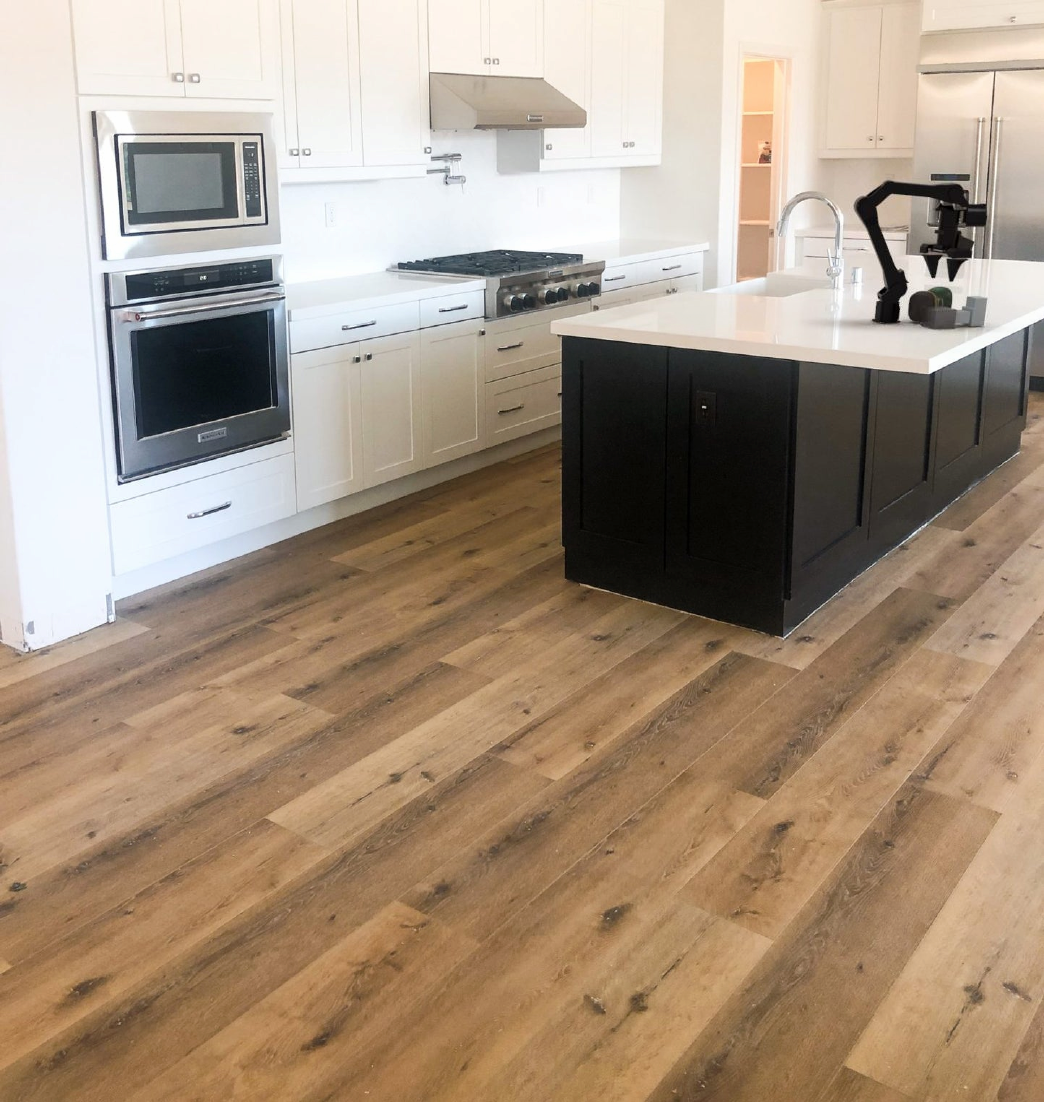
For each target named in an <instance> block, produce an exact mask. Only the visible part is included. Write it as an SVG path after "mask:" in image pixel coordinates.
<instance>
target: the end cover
mask: <svg viewBox="0 0 1044 1102" xmlns="http://www.w3.org/2000/svg"><path fill="white" fill-rule="evenodd" d="M987 305H988V297H984V296H981V295H972V296H969V295H968V296H966V300H965V306H964V305H963V306H961V309H957V313H956V321H955V325H957V324H960V325H964V326H968V327H976V326H977V327H978V326H979V327H980V326H985V321H986V312H987Z"/></svg>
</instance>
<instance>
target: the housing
mask: <svg viewBox="0 0 1044 1102" xmlns="http://www.w3.org/2000/svg"><path fill="white" fill-rule="evenodd" d="M957 310H958V309H956V308H953V307H951V308H948V307H944V306H940V307H923V309H922V318H921V322H920V327H923V328H928V329H931V330H948V329H949V330H952V329H954V330H955V328H956V327H955V326H956V324H955V321H956V313H957Z"/></svg>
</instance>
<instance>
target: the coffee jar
mask: <svg viewBox="0 0 1044 1102" xmlns="http://www.w3.org/2000/svg"><path fill="white" fill-rule="evenodd" d="M940 306H944V307H948V308H953V307H952V306H953V291H952V290H951V289H950V288H949V287H946V286H935V287H932V288H929V289H928V290H919V291H915V292H914V293H913V294H911V296H910V298H909V300H908V306H907V307H908V309H907V315H908V318H909V320H911V321H912V322H915V323H916V322H917V323H921V318H922V309H923V307H940Z"/></svg>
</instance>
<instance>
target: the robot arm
mask: <svg viewBox="0 0 1044 1102" xmlns="http://www.w3.org/2000/svg"><path fill="white" fill-rule="evenodd" d="M891 195H897V196H899V195H900V196H911V197H920V198H921V197H922V198H929V199H935V200H938V201H942V202H945V203H948V204H949V205H948V204H943V203H942V202H938V204H937V205H935V206H934V207H933V209H932V210H933V211H935V212H939V216H938V217H939V218H938V227H937V229H934V234H936V235H937V236H936V242H928V243H927V242H926V243H922V244H921V245H920V247H919V254H920V253H921V257H923V260H924V262H925V264H926V268H927V269H928V271H929V272H928V273H929V275H930V277H931V278H930V279H936V277H937V272H938V267H939V262H940V260H941V259H942V257H943V256H944V254H945V255H947V258H946V268H947V276H948V282H950V283H953V282H954V281H955V278H956V276H957V274H958V272H959V269H960V268H961V266H962V264H963V263H965V262H967V261H969V259H972V257H973V247H974V245H975V241H974V240H973V239H969V238H968V237H965V236H964V235H963V234H962V233H963V232H962V231H961V230H959V226H960V225H959V224H963V227H964V228H985V227H986V224H987V221H988V220H987V219H988V213H987V212H988V211H987V203H986V202H985V203H982V202H981V203H969V201H968V200H967V198H966V197H965V190H964V188H963V186H962V185H961V184H960V183H957V182H956V183H955V182H942V183H934V184H932V183H931V184H927V183H915V182H906V181H905V182H904V181H893V180H891V179H886V180H884V181H883V182H882V183H881V184H880V185H878V186H877V187H876V188H874V189H873V190H872V191H869V193H868V194H866V195H862V196H859V197H858V198H856V199H855V200H854V203H853V210H854V212H855V215H857V217H858V219H859V220H860V221H861V223H862V225H863V226H864V228H865V229H866V232H867V236H868V237H869V239H870V242H871V245H872V248H873V249H874V252H875V255H876V258H877V260H878V263H879V265H880V268H881V270H882V271H881V272H882V279H883V284H884V287H882V288H881V289H880V290H879V291H878V292H877V293H876V295H877V299H878V300H876V303H875V311H874V318H871V321H873V322H876V323H880V324H893V323H894V324H899V323H901V320H900V312H901V306H900V305H901V304H900V303H901V302H900V300H901V298H902V297H904V296H905V295H906V294H907V292H908V289H909V287H908V284H909V283H910V281H908V279H907V277H906V273H905V270H904V269H902V268H899V269H898V268H897V266H896V264H895V262H894V259H893V257H892V254H891V252H890V249H889V246H888V244H887V242H886V238H885V237H884V235H883V231H882V228H881V226H880V223H879V214H878V209H877V207H878V206H879V205H881V204H882V203H883V202H884V201H885V200H886V199H888V198H889V197H890V196H891ZM953 204H954V205H956V207H960V208H955V207H954V205H953Z"/></svg>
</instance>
